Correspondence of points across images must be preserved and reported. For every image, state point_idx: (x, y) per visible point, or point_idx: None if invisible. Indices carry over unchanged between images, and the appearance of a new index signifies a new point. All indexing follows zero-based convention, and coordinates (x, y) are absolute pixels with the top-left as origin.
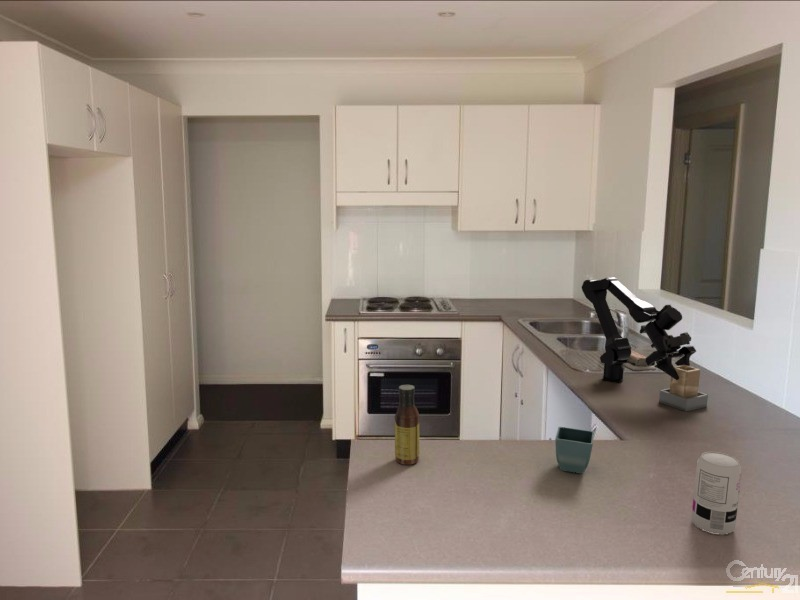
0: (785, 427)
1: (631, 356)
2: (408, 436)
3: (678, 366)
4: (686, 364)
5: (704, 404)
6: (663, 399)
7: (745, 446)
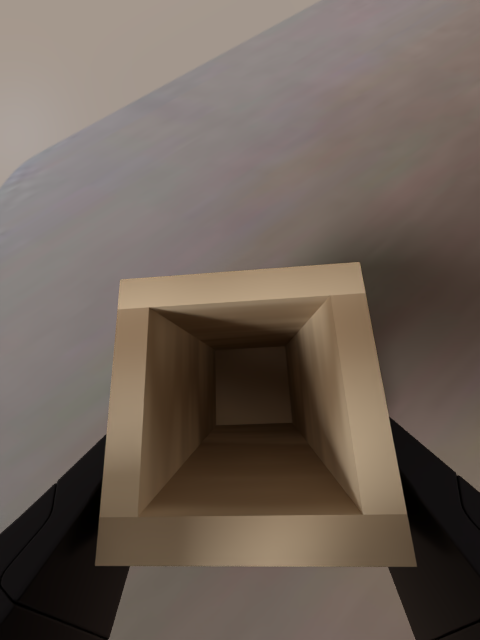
0: (140, 113)
1: None
2: None
3: (273, 530)
4: (76, 534)
5: None
6: None
7: (373, 61)
